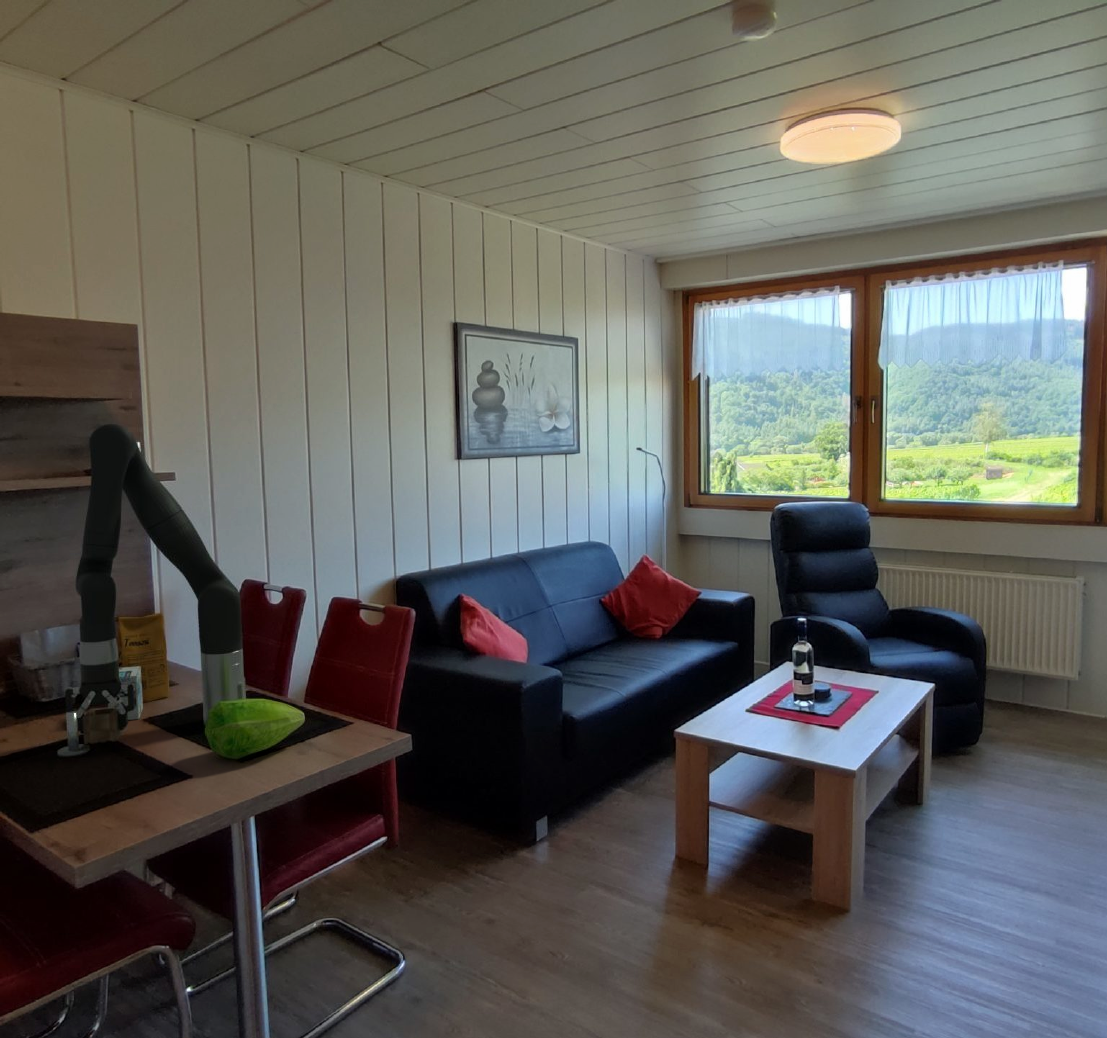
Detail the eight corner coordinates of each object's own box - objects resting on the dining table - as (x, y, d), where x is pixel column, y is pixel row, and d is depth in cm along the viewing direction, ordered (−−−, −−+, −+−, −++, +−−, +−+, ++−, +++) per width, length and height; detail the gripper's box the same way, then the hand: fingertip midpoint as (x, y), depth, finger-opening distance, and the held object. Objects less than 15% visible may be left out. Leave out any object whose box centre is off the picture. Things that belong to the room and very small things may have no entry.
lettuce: (312, 753, 175) (310, 698, 174) (210, 772, 166) (207, 713, 165) (298, 734, 187) (296, 682, 186) (202, 751, 178) (199, 696, 177)
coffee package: (114, 697, 218) (109, 614, 216) (165, 689, 225) (161, 609, 223) (118, 707, 210) (113, 621, 208) (172, 698, 216) (167, 615, 215)
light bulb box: (139, 719, 200) (137, 675, 199) (108, 723, 197) (105, 678, 196) (143, 707, 210) (141, 665, 209) (113, 710, 207) (111, 667, 206)
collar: (123, 731, 191) (121, 706, 190) (116, 741, 185) (114, 714, 184) (92, 734, 189) (90, 708, 189) (84, 744, 183) (82, 717, 182)
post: (93, 745, 182) (90, 707, 181) (85, 755, 176) (83, 715, 175) (62, 748, 180) (60, 709, 179) (53, 758, 174) (51, 718, 174)
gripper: (138, 653, 191) (141, 723, 192) (68, 657, 187) (72, 728, 188) (130, 660, 184) (134, 733, 185) (58, 665, 180) (62, 739, 181)
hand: (103, 730), depth 187 cm, fingers open, 7 cm apart
